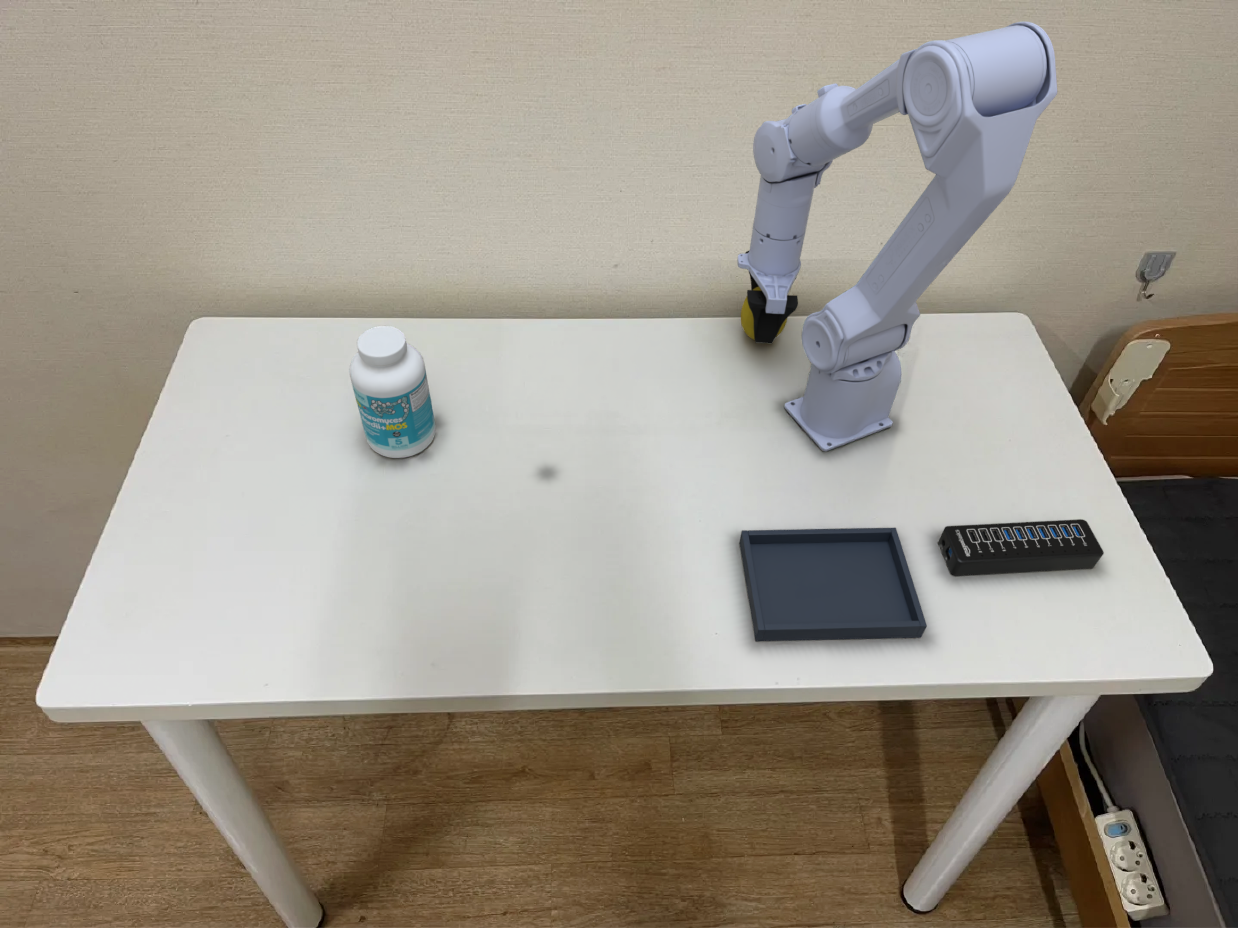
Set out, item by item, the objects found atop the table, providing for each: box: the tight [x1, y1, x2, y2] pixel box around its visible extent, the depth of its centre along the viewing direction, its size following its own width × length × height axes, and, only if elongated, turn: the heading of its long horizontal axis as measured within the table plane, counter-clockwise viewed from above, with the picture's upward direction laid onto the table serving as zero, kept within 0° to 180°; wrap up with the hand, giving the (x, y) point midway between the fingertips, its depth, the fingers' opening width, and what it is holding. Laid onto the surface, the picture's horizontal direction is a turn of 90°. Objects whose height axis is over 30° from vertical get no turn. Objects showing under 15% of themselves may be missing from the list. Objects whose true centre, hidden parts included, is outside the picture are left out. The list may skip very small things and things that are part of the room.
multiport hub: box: [937, 518, 1105, 577], centre depth 86 cm, size 4×14×2 cm, turn 95°
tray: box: [738, 527, 928, 643], centre depth 83 cm, size 15×11×2 cm
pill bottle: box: [348, 325, 436, 459], centre depth 91 cm, size 8×7×14 cm
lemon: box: [740, 287, 789, 341], centre depth 105 cm, size 6×6×8 cm
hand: (762, 324), depth 107 cm, fingers closed on lemon, 5 cm apart
